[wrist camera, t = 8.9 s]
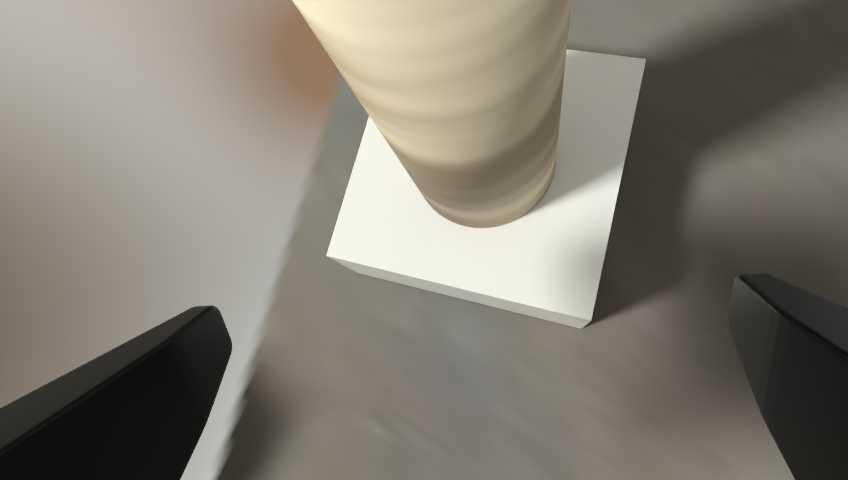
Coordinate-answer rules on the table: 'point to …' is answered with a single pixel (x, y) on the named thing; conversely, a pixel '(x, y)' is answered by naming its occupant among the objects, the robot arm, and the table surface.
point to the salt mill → (457, 93)
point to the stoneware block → (514, 242)
